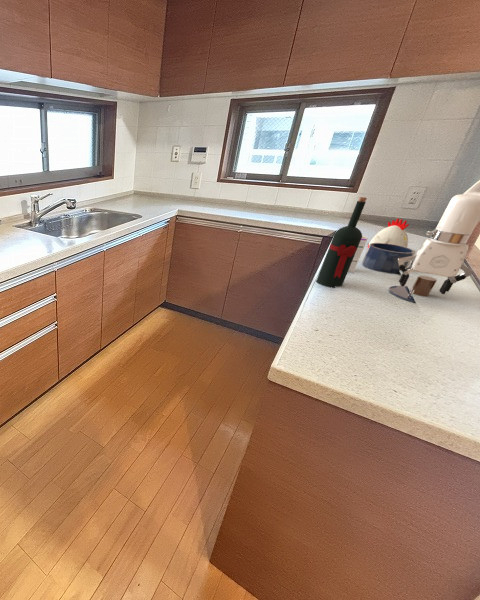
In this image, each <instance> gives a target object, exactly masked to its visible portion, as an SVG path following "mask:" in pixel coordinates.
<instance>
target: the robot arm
mask: <svg viewBox="0 0 480 600" xmlns="http://www.w3.org/2000/svg"><path fill="white" fill-rule="evenodd" d="M479 222H480V179H479V180H478V181H477V182H475V183H474V184H473V185H472V186H470V187H469V188H468V189H467V190H466V191H465V192H463V193H462V194H460V193H459V194H456V195H454V196H452V198H451V199H450V201H449V202H448V205H447V206H446V208H445V209H444V212H443V214H442V215H441V217H440V220H439V222H438V223H437V226H436V227H435V228H434V229H433V230H427V231H426V232H425V236H428V237H430V238H426V240H425V241H424V242H423V243H422V244H421V246H420V247H419V249H418V250H417V251H416V252H415V254H414V256H410V257H404V258H399V259H398V265H399V268H400V269H401V270H400V271H401V274H400V277H399V279H398V283H399V286H406V284H407V282H408V280H409V278H410V274H412V273H414V272H418V273H421V274H422V273H423V274H428V275H435V276H440V277H447V279H445V280H444V281H443V283H442V285H441V287H440V288H439V293H440V294H441V295H445V294H446V293H448V292H449V291H450V290H451V288H452V286H453V285H454V284H456V283H457V282H460V281H463V280H465V279H467V278H468V277H470V276H472V275H473V274H475V271H474V270H473V269H471V267H468V266H466V265H465V264H463V263H464V261H465V258H466V256H467V254H468V250H469V247H470V246H469V244H467V243H468V240H469V239H470V237H471V235H472V234H473V232H474V230H475V229H476V227H477V225H478V223H479ZM408 261H411V262H410V265H409V266H408V267H407V268H405V266H404V262H408ZM460 270H462V271H463V272H462V273H459V271H460ZM458 273H459V274H458Z"/></svg>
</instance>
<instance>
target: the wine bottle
mask: <svg viewBox="0 0 480 600" xmlns="http://www.w3.org/2000/svg"><path fill="white" fill-rule="evenodd" d="M366 203H367V197H365V196H364V197H363V196H359V197H358V200H357V201H356V203H355V206H354V208H353V212H352V214H351V216H350V219H349V221H348V225H346V226H343V227H340V228H339V229H337V230H336V231H335V232H334V234H333V237H332V239H331V242H330V244H329V247H328V249H327V252H326V254H325V257H324V260H323V262H322V265H321V268H320V270H319V273H318V275H317V278H316V281H315V282H316V283H317V284H319V285H320V286H323V287H327V288H331V287H332V288H333V289H335V288H336V287H342V286H343V285H344V282H345V280H346V277H347V275H348V273H349V272H348V270H349V268H350V265H351V263H352V260H353V258H354V256H355V253H356V251H357V248H358V246H359V243H360V241H361V238H362V235H363V233H362V231H361V230H360V229H359V228H358V227H357V225H358V222H359V220H360V218H361V215H362V212H363V210H364V208H365V206H366Z"/></svg>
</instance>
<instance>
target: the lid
mask: <svg viewBox="0 0 480 600" xmlns="http://www.w3.org/2000/svg"><path fill="white" fill-rule="evenodd" d="M437 281H438V279H437V278H434V277H431V276H428V275H418V276H417V278H416V280H415V282H414V283H413V285H412V287H411V288H409V287H408V286H406V285H405V286H401V285H393V286H389V288H388V292H389V294H391V295H393V296H395V297H397V298H398V299H401V300H404V301H408V302H410V303H414V304H417V302H416V300H415V299H414V296H413V295H415V296H419V297H424V298H425V297H429V295H430V293H432V292H431V291H432V290H433V288H434V286H435V285H436V283H437Z"/></svg>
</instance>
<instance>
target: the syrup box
mask: <svg viewBox="0 0 480 600" xmlns="http://www.w3.org/2000/svg"><path fill="white" fill-rule="evenodd" d="M368 239H369V237H368V236H365V235H363V234H362V238H361V241H360V243H359V246H358V248H357V251H356V253H355V256H354V258H353V260H352V263H351V265H350V268H349V270H348V273H355V271H356V268H357V266H358V263H359V261H360V257H361V256H362V254H363V250H364V248H365V246H366V243H367V242H368Z"/></svg>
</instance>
